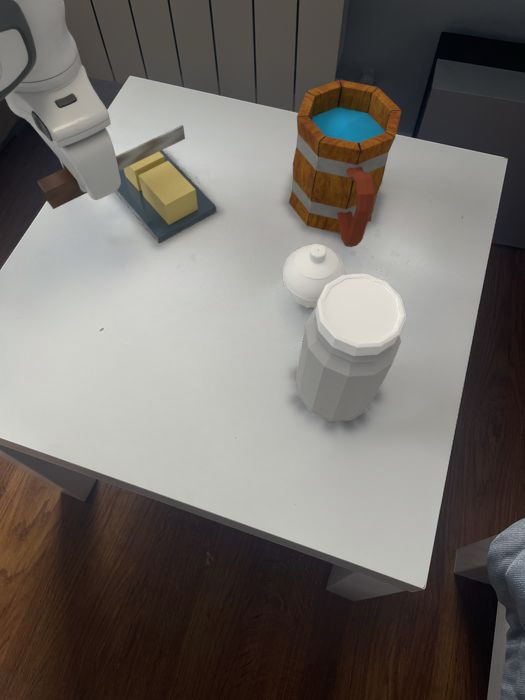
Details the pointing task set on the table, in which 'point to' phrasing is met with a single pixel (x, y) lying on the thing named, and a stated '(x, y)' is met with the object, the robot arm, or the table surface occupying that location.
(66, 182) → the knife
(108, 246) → the table surface
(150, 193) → the butter block
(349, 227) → the mug
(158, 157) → the block
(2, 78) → the robot arm
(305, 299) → the spinning top
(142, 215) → the butter dish
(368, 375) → the jar
